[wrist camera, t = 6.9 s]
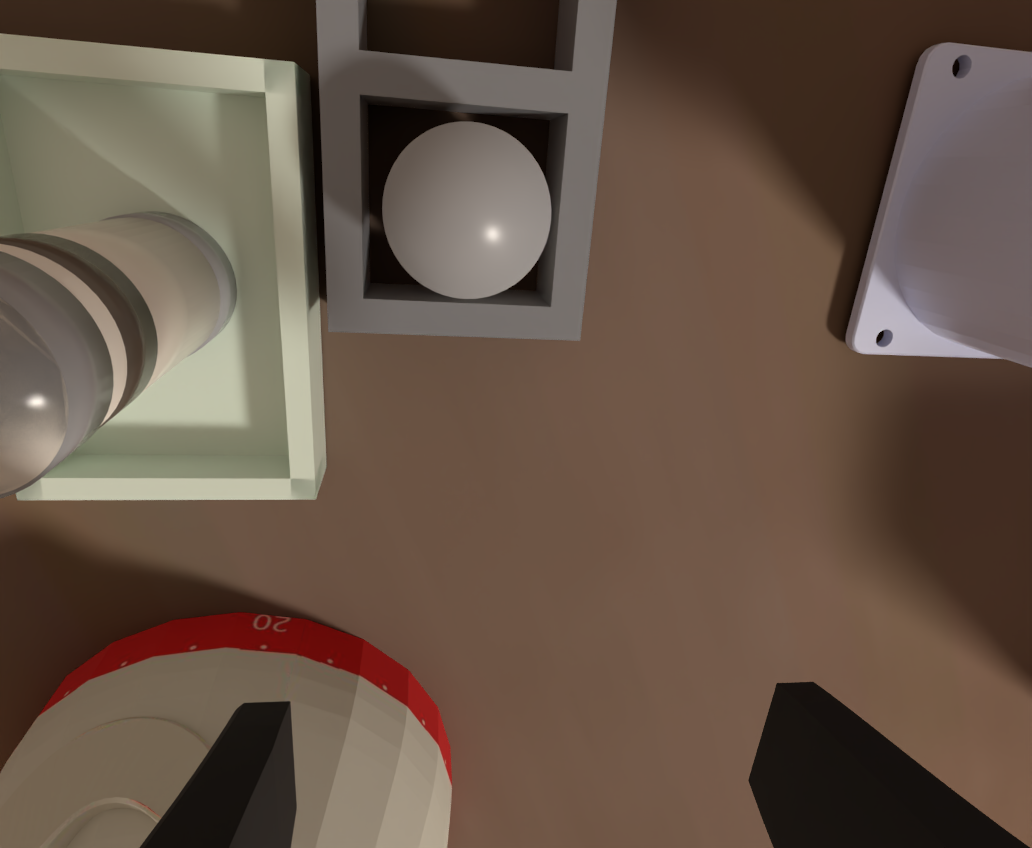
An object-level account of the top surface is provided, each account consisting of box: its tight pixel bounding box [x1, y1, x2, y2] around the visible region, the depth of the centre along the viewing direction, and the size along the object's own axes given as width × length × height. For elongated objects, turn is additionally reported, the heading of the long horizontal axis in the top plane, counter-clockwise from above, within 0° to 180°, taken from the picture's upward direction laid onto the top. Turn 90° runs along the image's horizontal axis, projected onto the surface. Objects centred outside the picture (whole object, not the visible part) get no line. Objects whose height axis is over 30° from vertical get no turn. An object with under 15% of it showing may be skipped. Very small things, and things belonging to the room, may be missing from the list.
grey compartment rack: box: [316, 0, 617, 341], centre depth 13 cm, size 6×11×4 cm, turn 176°
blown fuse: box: [0, 211, 237, 498], centre depth 12 cm, size 3×3×8 cm
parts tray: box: [0, 33, 327, 500], centre depth 15 cm, size 7×10×2 cm
